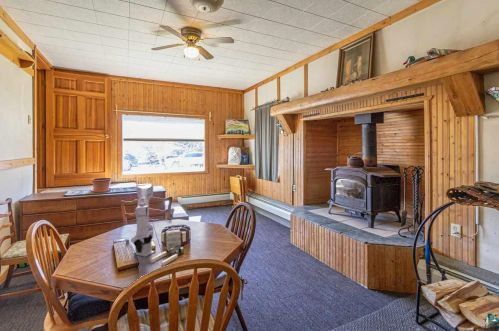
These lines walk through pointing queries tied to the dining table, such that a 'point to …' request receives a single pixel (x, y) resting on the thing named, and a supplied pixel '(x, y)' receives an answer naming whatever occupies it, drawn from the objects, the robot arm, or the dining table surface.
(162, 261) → the guide rails
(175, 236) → the ink box
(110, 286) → the dining table surface
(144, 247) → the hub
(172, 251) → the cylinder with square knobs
